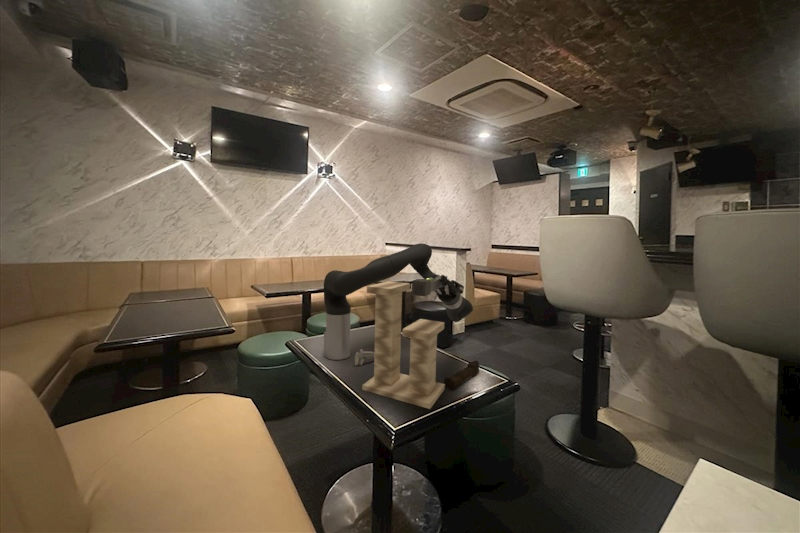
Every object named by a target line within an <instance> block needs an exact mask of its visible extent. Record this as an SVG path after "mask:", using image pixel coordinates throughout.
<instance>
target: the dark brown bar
mask: <svg viewBox="0 0 800 533" xmlns="http://www.w3.org/2000/svg"><path fill="white" fill-rule="evenodd" d="M479 371H480V362H479V361H478V360H473V361H471V362H468V363H467V366H466V367H465V368H463V369H460V370H459V371H456V372H455V373H453V374H451V375H449V376H445V377H444V379H443V384H445V389H447V390H451V391H454V390H455V389H457V387H458V386H459V385H460V384H462V383H464V382H466V381H467V380H469V379H470V378H474V377H476V376H477V374H478V373H479Z"/></svg>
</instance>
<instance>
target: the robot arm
mask: <svg viewBox="0 0 800 533" xmlns="http://www.w3.org/2000/svg"><path fill="white" fill-rule="evenodd" d="M432 255H433V249H432V247H431V246H430V245H429V244H426V243H416V244H413V245H411V246H409V247H407V248H405V249H403V250H400V251H396V252H394V253H392V254H388V255H385V256H382V257H378V258H376V259H373V260H372V261H370V262H369V263H368V264H366V265H364V266H363V267H361V268H359V269H355V270H351V271H341V270H331V271H329V272H328V273H326V274H325V276H324V281H323V303H324V307H325V315H326V316H325V331H324V332H323V356H324V357H326V358H327V359H328V360H332V361H333V360H334V361H340V360H341V361H342V360H344V359H347V358H350V355H351V310H352V309H351V308H352V307H351V304H350V303H349V301H348V300H347V296H349V295H351V294H352V293H354V292H356V291H358V290H360V289H363V288H364V287H367V286H370V285H374V284H377V283H378V282H381V281H384V280H388V279H389V278H393V277H394V276H397V275H398V274H399V273H400V272H402V270H404V269H405V268H406V267H408V265H410V266H411V268H412V269H414V271H415V272H416V273H417V274H419V276H420V277H421V278H422V279H424V280H425V279H428V278H431V277H432V278H435V277H438V276H441V282H442V284H443V285H444V287H442V288H439V289H437V290H435V291H434V292H435V293H436V295H437V297H438V299H439V301H440V302H441V303H442V304H443V305H444V306H445V308H446V309H445V310H446V314H447V316H448V318H449V319H450V320H451V321H452V322H454V323H459V322H460V321H462V320H463V319H464V318H466V317H468V316H469V315H470V314H472V312H473V311H474V306H473V305H472V303H471V302H470V300H468V299H467V298H465V297H464V296H462V294H464V290H465V289H464V288H465V286H464V285H462V284H461V283H459V282H457V281H456V280H454V279H451V280H450V278H449V279H448V276H447V277H445V276H446V275H444V274H441V275H439V274H436V273H434V272H433V271H432V270H431V268H430V267H429V265H428V263H429V261H430V260H431V258H432Z"/></svg>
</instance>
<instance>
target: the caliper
mask: <svg viewBox="0 0 800 533" xmlns="http://www.w3.org/2000/svg"><path fill="white" fill-rule="evenodd" d="M374 353H375V352H373V351H364V350H363V349H362V348H361V349H359V348H358V349H357V351H356V352H355V356H354V366H355V367H358V365H359V366H360V367H361V366H362V365H363V364H364V361H365V359H366V360H373V359H374ZM400 356H402V354H401V353H400Z"/></svg>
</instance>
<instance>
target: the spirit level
mask: <svg viewBox="0 0 800 533" xmlns="http://www.w3.org/2000/svg"><path fill="white" fill-rule="evenodd" d="M444 276H445V277H447V278H448V275H444ZM442 287H444V285H443V284H442V282H441V275H440V276H438V277H435V278H432V277H431V278H428V279H424V278H417V279H414V280H412V281H411V296H417V297H427V296H429V295H431V293H433V292H435V290H437V289H439V288H442Z"/></svg>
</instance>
